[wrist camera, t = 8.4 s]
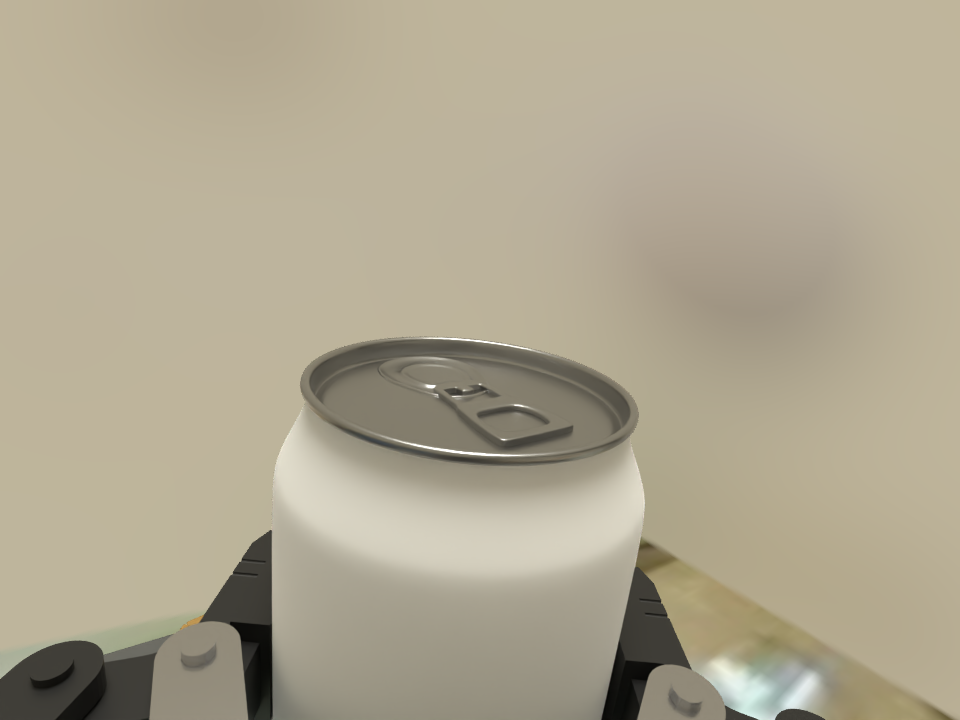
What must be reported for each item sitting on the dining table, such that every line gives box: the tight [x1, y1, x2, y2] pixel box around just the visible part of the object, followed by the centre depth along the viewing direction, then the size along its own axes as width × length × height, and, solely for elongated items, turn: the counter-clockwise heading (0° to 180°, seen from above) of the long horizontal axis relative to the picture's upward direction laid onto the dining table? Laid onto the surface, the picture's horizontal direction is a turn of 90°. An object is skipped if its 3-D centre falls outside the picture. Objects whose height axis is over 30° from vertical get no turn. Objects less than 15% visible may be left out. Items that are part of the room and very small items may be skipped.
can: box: [272, 337, 645, 720], centre depth 11 cm, size 6×6×12 cm
